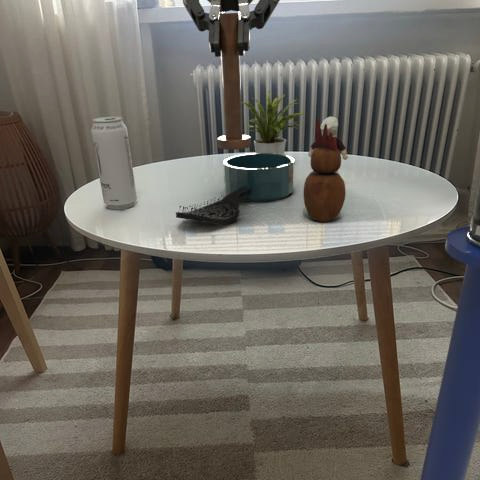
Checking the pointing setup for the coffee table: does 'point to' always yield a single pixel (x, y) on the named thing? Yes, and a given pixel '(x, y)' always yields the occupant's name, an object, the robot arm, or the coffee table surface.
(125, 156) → the energy drink can
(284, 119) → the house plant
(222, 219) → the hairbrush
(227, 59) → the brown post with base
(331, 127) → the grandmother figurine
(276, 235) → the coffee table surface
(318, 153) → the wooden figurine
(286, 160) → the bowl
